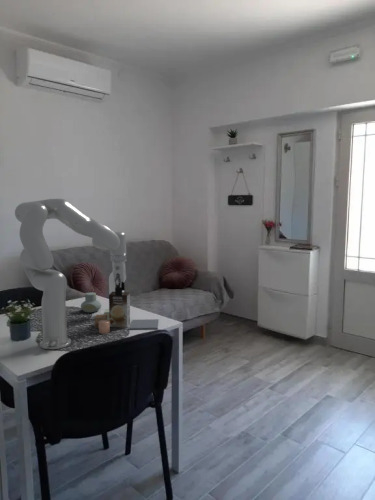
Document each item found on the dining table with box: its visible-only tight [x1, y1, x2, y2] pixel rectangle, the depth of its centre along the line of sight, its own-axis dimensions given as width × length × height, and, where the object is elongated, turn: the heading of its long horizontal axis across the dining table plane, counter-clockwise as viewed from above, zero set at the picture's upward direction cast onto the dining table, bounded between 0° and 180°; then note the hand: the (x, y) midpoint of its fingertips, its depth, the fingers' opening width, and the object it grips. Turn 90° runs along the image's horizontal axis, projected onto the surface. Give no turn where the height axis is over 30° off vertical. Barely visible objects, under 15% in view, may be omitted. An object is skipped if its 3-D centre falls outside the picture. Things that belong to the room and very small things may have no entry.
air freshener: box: [80, 291, 102, 314], centre depth 213 cm, size 11×8×10 cm
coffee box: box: [108, 291, 131, 329], centre depth 188 cm, size 9×6×16 cm
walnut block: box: [94, 314, 107, 329], centre depth 188 cm, size 5×5×5 cm
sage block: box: [103, 308, 109, 320], centre depth 197 cm, size 5×5×5 cm
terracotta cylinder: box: [98, 320, 111, 335], centre depth 179 cm, size 5×5×5 cm
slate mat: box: [129, 318, 159, 331], centre depth 189 cm, size 13×13×1 cm
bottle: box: [108, 262, 125, 295], centre depth 207 cm, size 8×8×30 cm
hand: (120, 292), depth 187 cm, fingers open, 9 cm apart
